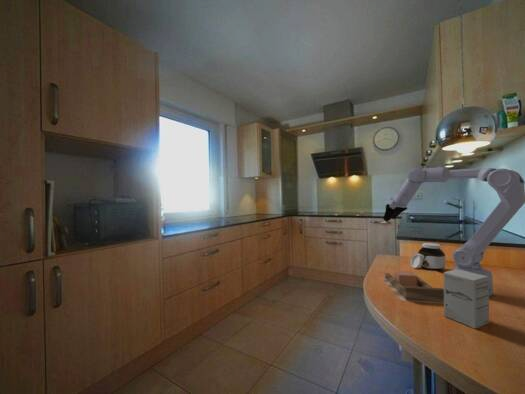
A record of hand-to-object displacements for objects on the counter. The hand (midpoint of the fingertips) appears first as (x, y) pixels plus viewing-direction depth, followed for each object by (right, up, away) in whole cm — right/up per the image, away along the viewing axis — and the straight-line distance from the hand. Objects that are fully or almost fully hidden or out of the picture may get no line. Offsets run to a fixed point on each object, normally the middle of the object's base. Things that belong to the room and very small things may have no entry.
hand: (388, 219), depth 105 cm
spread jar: (+19, -24, +2) cm, 31 cm away
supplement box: (-2, -24, -43) cm, 49 cm away
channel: (-4, -24, -21) cm, 32 cm away
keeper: (-3, -23, -18) cm, 29 cm away
